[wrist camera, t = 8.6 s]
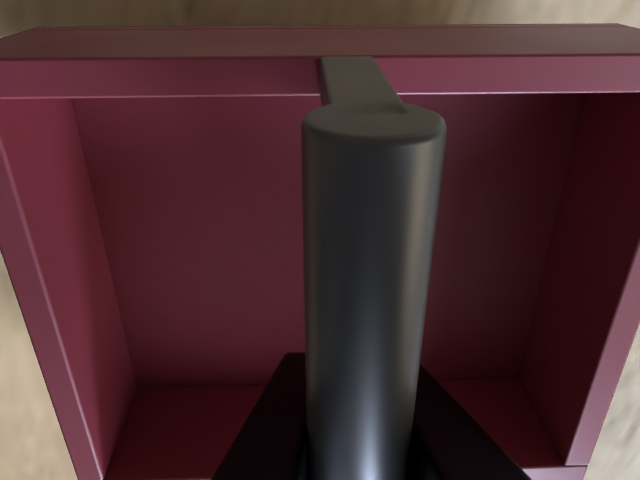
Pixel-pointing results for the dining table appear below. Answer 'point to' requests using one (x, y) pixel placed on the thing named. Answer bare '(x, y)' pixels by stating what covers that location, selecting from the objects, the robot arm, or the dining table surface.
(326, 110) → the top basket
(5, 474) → the dining table surface
